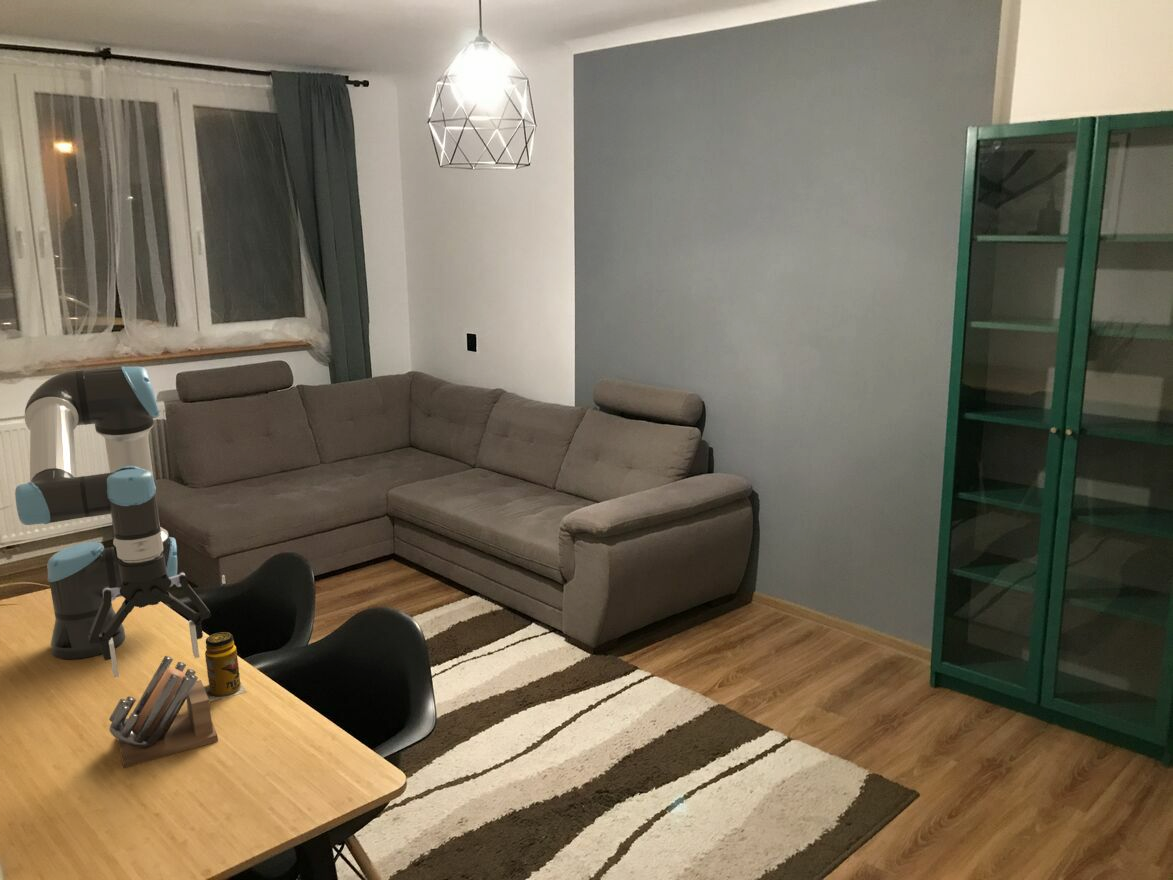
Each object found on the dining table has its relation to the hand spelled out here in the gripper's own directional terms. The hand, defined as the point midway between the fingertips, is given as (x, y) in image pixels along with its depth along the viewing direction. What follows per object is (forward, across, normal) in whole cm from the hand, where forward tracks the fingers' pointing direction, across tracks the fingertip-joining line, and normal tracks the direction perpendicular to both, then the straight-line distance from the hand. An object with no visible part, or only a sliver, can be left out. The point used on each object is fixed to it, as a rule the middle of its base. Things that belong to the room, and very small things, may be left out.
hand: (156, 664), depth 171 cm
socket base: (+15, 0, 0) cm, 15 cm away
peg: (+12, -4, +1) cm, 13 cm away
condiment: (+16, +12, +14) cm, 24 cm away
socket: (+15, -1, 0) cm, 15 cm away
